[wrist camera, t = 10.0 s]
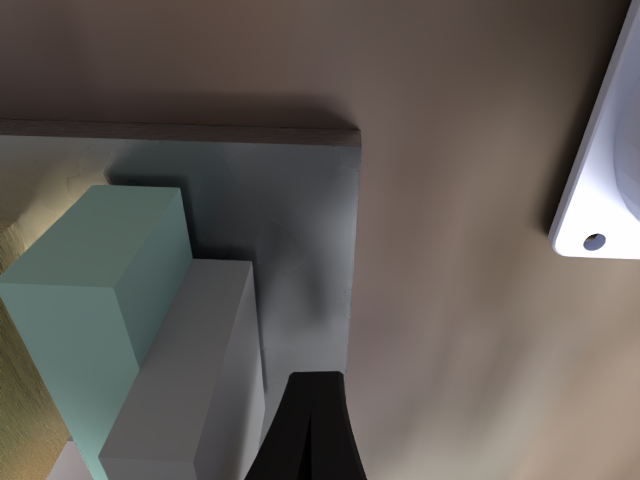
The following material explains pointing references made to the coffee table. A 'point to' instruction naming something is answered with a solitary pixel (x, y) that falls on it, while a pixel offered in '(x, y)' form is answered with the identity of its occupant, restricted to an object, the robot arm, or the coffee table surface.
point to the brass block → (23, 393)
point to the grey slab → (219, 214)
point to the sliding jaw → (142, 339)
